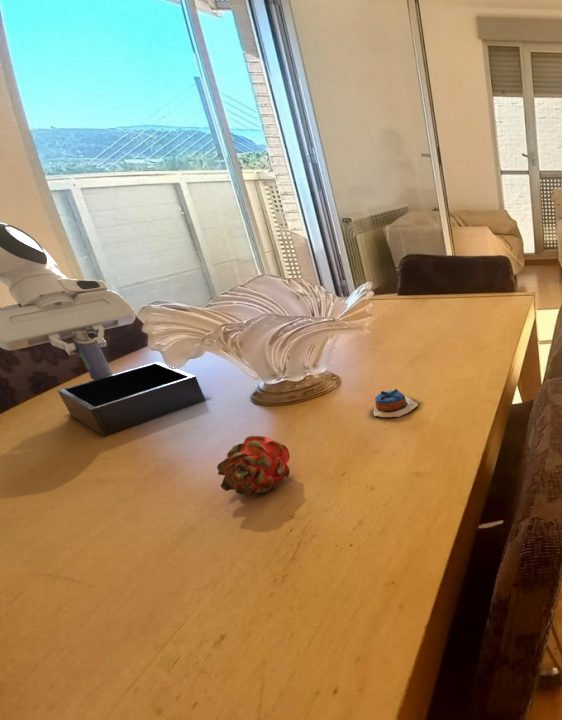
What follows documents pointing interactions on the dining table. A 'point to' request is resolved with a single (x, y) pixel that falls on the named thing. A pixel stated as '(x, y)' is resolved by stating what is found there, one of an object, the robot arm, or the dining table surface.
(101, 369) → the flask
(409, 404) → the dessert
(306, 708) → the dining table surface
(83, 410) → the basin
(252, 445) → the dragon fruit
